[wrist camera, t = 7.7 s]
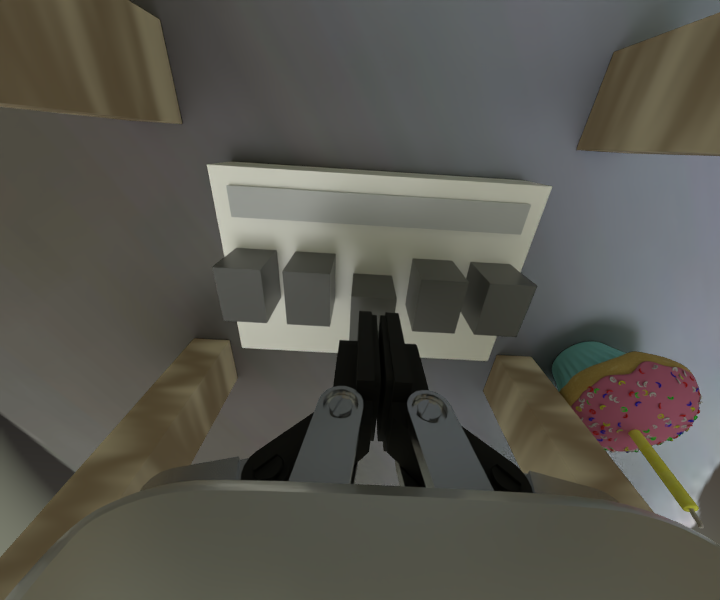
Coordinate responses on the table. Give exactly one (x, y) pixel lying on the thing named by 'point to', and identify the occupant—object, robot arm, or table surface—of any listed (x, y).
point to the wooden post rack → (214, 357)
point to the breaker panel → (373, 255)
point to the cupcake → (631, 402)
